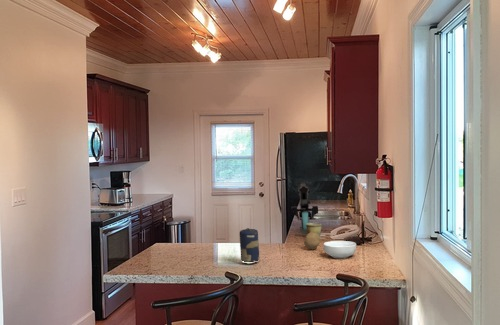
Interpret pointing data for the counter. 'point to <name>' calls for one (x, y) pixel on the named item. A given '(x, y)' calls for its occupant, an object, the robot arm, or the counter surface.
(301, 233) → the walnut base
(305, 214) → the teal post
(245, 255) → the canister
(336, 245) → the cereal bowl
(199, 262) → the counter surface
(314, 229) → the ceramic cup
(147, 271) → the counter surface
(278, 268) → the counter surface
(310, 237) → the natural sponge
